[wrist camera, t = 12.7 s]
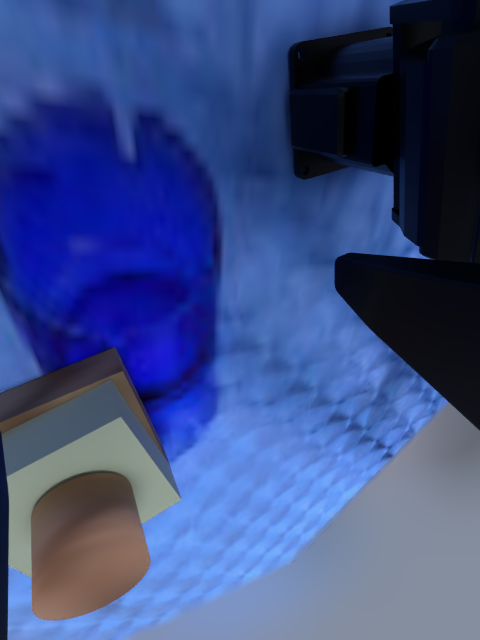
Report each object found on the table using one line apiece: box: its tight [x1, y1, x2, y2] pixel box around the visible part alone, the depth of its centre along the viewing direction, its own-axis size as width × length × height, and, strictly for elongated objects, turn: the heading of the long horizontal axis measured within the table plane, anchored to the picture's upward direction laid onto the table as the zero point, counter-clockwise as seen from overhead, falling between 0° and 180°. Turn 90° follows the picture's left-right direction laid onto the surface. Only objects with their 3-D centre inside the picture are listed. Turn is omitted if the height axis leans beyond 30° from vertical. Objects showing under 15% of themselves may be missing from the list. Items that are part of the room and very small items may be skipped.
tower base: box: [0, 347, 171, 469], centre depth 23 cm, size 10×10×3 cm
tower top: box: [2, 380, 181, 578], centre depth 20 cm, size 9×9×3 cm
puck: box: [31, 473, 150, 620], centre depth 18 cm, size 5×5×4 cm
